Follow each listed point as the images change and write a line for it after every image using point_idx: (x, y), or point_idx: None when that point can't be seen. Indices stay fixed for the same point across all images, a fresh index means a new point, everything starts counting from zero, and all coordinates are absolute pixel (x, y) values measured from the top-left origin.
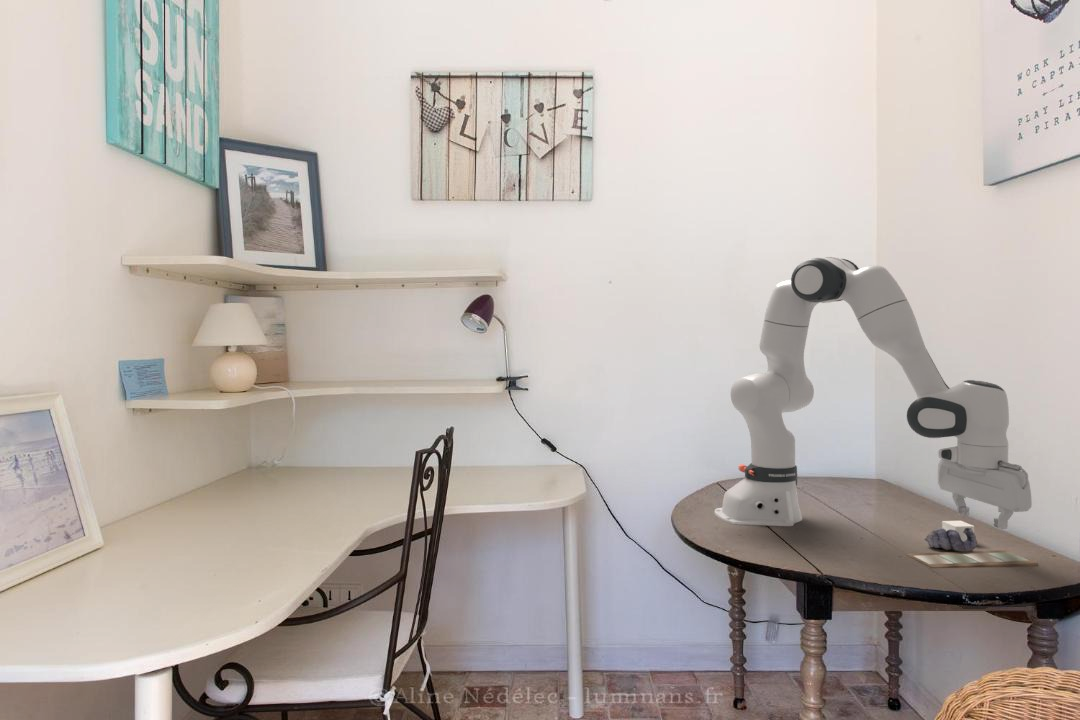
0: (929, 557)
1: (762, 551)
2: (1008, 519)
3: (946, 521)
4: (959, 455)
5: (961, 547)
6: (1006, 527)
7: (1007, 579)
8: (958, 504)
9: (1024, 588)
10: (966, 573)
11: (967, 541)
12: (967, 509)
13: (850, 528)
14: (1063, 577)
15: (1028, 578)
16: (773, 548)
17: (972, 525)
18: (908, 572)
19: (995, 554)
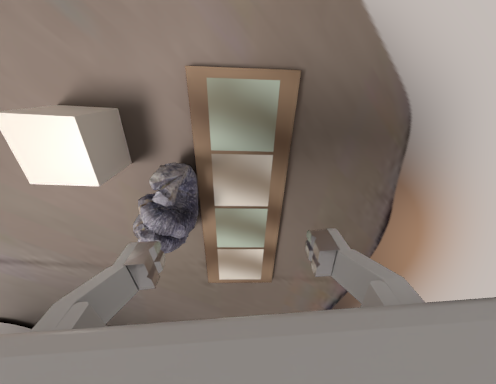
0: (230, 264)
1: None
2: (358, 253)
3: (31, 173)
4: None
5: (197, 202)
6: (335, 230)
7: (339, 207)
8: (128, 299)
9: (379, 211)
10: (295, 246)
11: (180, 186)
12: (151, 264)
13: (43, 281)
14: (379, 80)
15: (350, 168)
16: None
17: (66, 118)
18: (273, 302)
19: (223, 136)
